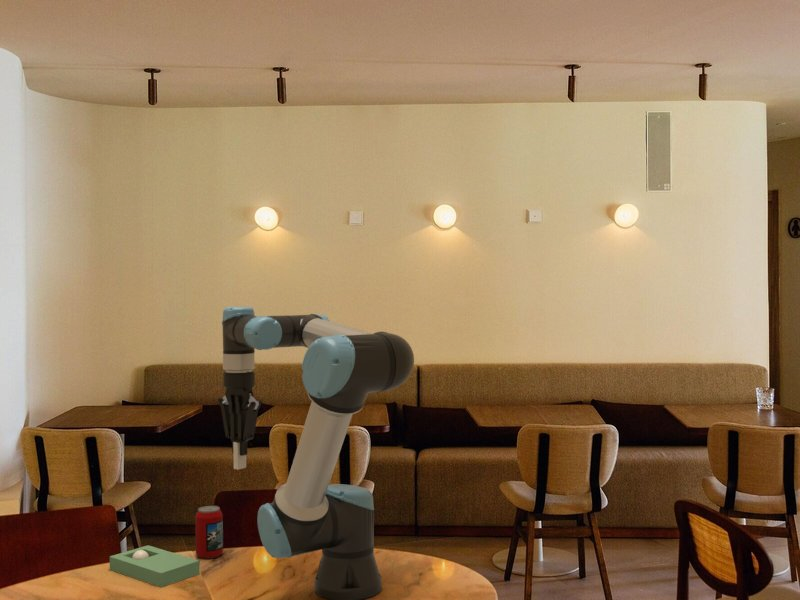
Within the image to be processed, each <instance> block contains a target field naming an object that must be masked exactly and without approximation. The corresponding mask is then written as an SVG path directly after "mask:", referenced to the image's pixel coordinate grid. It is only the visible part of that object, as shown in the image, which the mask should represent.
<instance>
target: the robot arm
mask: <svg viewBox="0 0 800 600" xmlns="http://www.w3.org/2000/svg"><path fill="white" fill-rule="evenodd" d="M221 325H222V369H223V371H224V372H223V373H222V385H223V387H224V388H225V392H224V395H223V396H222V397H219V398H218V399H217V402H218V404H219V407H220V412H221V417H222V422H223V429H224V433H225V438H226V439H230V441H231V447H232V448H231V452H232V456H233V470H238V471H239V470H243V469H246V468H247V455H248V442H249V441H250V440H254V438H255V432H256V427H257V420H258V413H259V411H260V408H261V405H262V402H261V401H260V400H257V399H255V396H254V392H253V387H255V385H256V373H255V372H254V369H255V363H256V362H255V352H256V351H255V350H257V351H262V350H266V351H267V350H271V349H277V348H292V347H293V348H294V347H296V348H297V347H304V348H307V349H306V351H305V353H304V356H303V360H302V362H301V363H302V364H301V370H302V371H303V372H302V374H301V379H302V380H301V381H302V383H303V387H304V388H305V390H306V393H307V396H308V398H309V400H310V401H311V403H310V406H309V409H308V413H307V416H306V419H305V422H304V425H303V428H302V431H301V435H300V438H299V441H298V445H297V448H296V450H295V454H294V457H293V460H292V464H291V468H290V469H289V470H290V471H289V473H288V477H287V480H286V483H284V484H282V485H280V486H279V487H278V489H277V490H276V493H274V498H273V501H272V502H271V503H270V502H267V503H265V504H262V505H261V506H259V507H258V508H259V509H258V511H257V529H258V533H259V537H260V538H259V539H260V541H261V543H262V546H263V548H264V550H265V551H266V553H267V554H268V555H269V556H271V557H272V558H275V559H283V558H292V557H295V556H300V555H304V554H308V553H313V552H317V551H322V552H321V558H320V561H319V564H318V568H317V572H316V575H315V578H314V592H315V594H317V595H318V596H319V597H322V598H323V599H328V600H365V599H368V598H372V597H374V596H376V595H378V594H379V593H380V592H381V591H382V588H383V587H382V586H383V585H382V584H383V582H382V581H383V580H382V576H381V573H380V572H379V568H378V564H377V561H376V557H375V554H374V553H375V552H374V549H375V548H374V544H375V543H374V542H375V541H374V539H375V537H374V535H375V534H374V531H375V529H374V526H375V525H374V524H375V522H374V511H375V507H374V496H373V493H372V492H371V490H369V489H368V488H366V487H363V486H358V485H352V484H343V483H342V484H341V483H331V484H330V482H331V479H332V477H333V473H334V471H335V468H336V464H337V462H338V459H339V456H340V453H341V450H342V448H343V447H342V446H343V444H344V441H345V438H346V435H347V433H348V428H349V426H350V423H351V421H352V417H353V415H355V414H357V413H359V412H360V411H362V409H363V408H364V406H365V403H366V400H367V397H368V395H369V394H372V393H373V394H374V393H381V392H389V391H392V390H395V389H396V388H399V387H401V386H402V385H403V384H405V382H407V380H408V379H409V378H410V376H411V374H412V373H413V370H414V366H415V355H414V351H413V348H412V347H411V345H410V344H409V342H408V341H407V340H406V339H404V337H402V336H400V335H398V334H394V333H389V332H387V331H376V332H373V333H371V332H369V331H365V330H361V329H358V328H355V327H350V326H347V325H345V324H344V325H343V324H340V323H338V322H337V323H336V322H333V321H331V320H330V319H329V318H328V316H327V315H325V314H315V313H310V314H296V315H295V314H294V315H260V316H259V315H255V310H254V308H253V307H252V306H251V307H250V306H228V307H225V308H224V309H223V310H222V321H221Z"/></svg>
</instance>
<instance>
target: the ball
mask: <svg viewBox="0 0 800 600" xmlns="http://www.w3.org/2000/svg"><path fill="white" fill-rule="evenodd" d="M147 557H149V555H148V553H147V552H146V551H144V550H138V551H136V552H135V553H134V554H133V556H132V558H133V559H136V560H141V559H144V558H147Z"/></svg>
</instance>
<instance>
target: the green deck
mask: <svg viewBox="0 0 800 600" xmlns="http://www.w3.org/2000/svg"><path fill="white" fill-rule="evenodd" d="M138 550H144V551H146V552H147V553H148V555H149V557H147V558H144V559H141V560H136V559H133V558H132V556H133V554H134V553H135V552H136V551H138ZM200 566H201V564H200V560H198V559H196V558H192V557H188V556H186V555H183V554H179V553H176V552H172V551H169V550H168V551H167V550H165V549H162V548H158V547H155V546H152V545H144V546H140V547H138V548H134V549H131V550H128V551H124V552H120V553H117V554H113V555H109V571H112V572H116V573H119V574H121V575H125V576H128V577H130V578H133V579H135V580H139V581H142V582H144V583H148V584H151V585H153V586H156V587H160V588H163V587H167V586H169V585H172V584H175V583H177V582H180V581H184V580H187V579H190V578H192V577H195V576H198V575H200V572H201V571H200V568H201V567H200Z"/></svg>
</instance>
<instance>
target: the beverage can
mask: <svg viewBox="0 0 800 600" xmlns="http://www.w3.org/2000/svg"><path fill="white" fill-rule="evenodd" d="M223 516H224V515H223V512H222V510H221V508H220V506H218V505H206V506H201V507H198V508H197V512H196V514H195V524H194V525H195V555H196V556H198V557H199V558H202V559H209V560H210V559H215V558H217V557H219V556H220V555H221V554H223V552H224V529H223V526H224V525H223V524H224V523H223V522H224V521H223V519H224V518H223Z"/></svg>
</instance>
